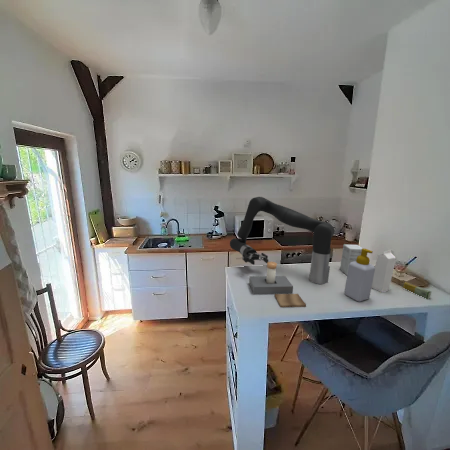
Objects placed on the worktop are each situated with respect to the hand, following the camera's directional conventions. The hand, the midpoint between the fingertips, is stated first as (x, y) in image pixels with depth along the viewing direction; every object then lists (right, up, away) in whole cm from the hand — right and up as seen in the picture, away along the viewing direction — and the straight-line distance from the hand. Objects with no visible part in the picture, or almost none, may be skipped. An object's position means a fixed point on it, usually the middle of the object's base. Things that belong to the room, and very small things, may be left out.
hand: (260, 262), depth 138 cm
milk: (+64, -14, -4) cm, 65 cm away
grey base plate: (+4, -12, -8) cm, 15 cm away
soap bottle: (+46, -15, -13) cm, 51 cm away
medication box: (+80, -16, -8) cm, 82 cm away
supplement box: (+58, -9, +16) cm, 60 cm away
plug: (+4, -12, -8) cm, 15 cm away
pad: (+11, -16, -20) cm, 27 cm away
